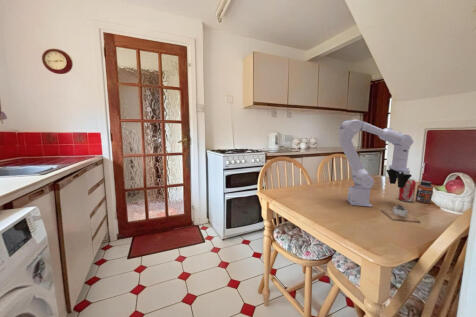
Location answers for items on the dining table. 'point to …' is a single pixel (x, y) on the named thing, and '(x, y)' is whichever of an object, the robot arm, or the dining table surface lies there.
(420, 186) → the supplement bottle
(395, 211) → the tube
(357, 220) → the dining table surface
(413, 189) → the beverage can
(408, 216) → the shaft stand
